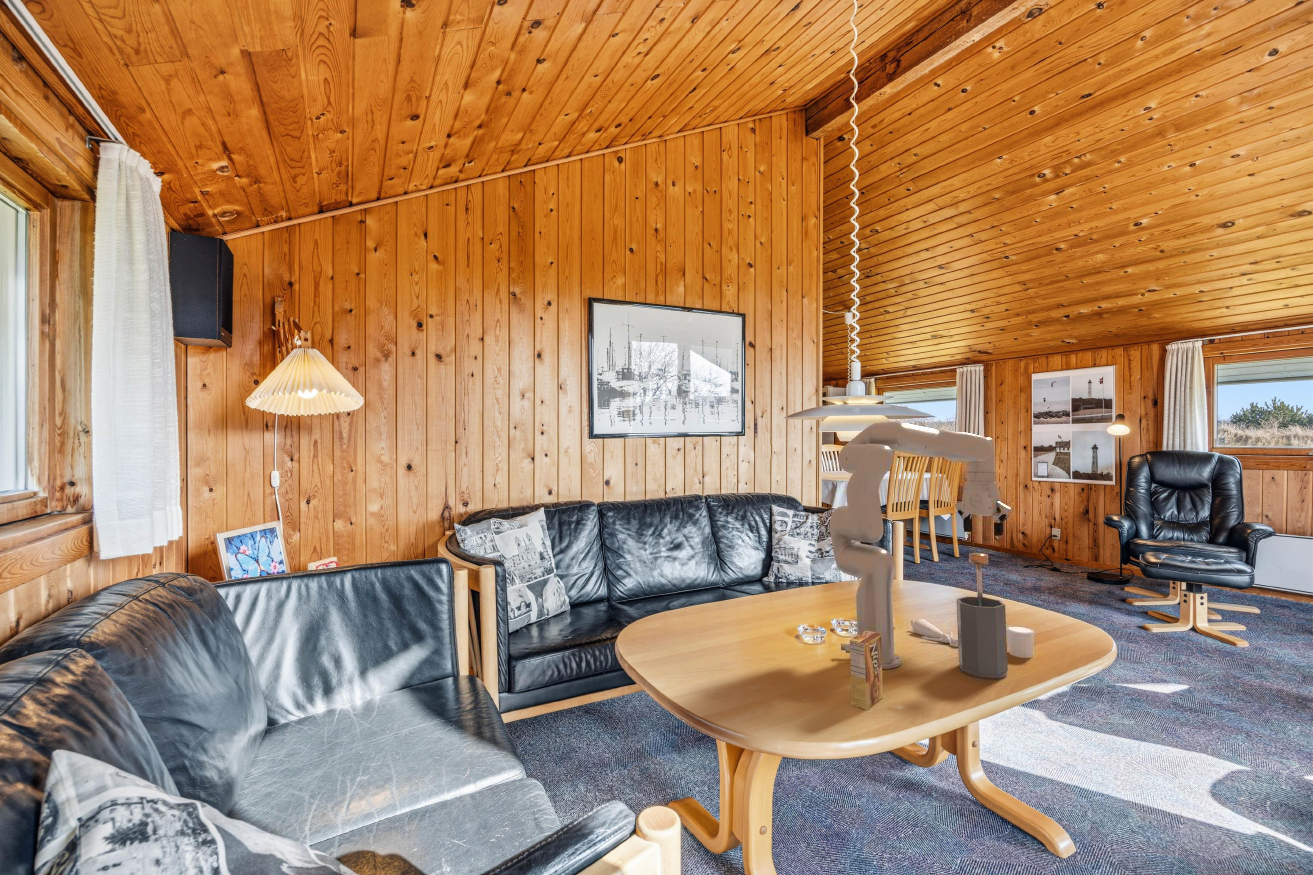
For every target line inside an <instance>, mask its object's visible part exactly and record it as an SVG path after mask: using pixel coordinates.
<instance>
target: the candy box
mask: <svg viewBox="0 0 1313 875" xmlns="http://www.w3.org/2000/svg"><path fill="white" fill-rule="evenodd" d="M849 644H850V653H849V658H850V659H849V660H850V661H849V662H850V664H849V666H850V667H849V668H850V669H849V670H850V703H851V704H850V705H851V706H852V705H853V706H852V707H855V706H856V708H859V707H860V708H859V709H863V710H866V711H867V710H869V709H870V708H872V707H873V706H874V705H876V703H878V702H879V701H880V700H882V699H883V698H884V696H883V695H884V694H883V669H882V648H881V634H880V633H876V632H871V631H864V632H862V633H861V634H859V635H857V634H856V635H855V636H854V637H852V638H850V639H849Z"/></svg>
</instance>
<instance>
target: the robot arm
mask: <svg viewBox="0 0 1313 875" xmlns="http://www.w3.org/2000/svg"><path fill="white" fill-rule="evenodd" d="M894 452H899V453H902V454H903V453H905V454H910V455H916V456H921V457H926V458H937V459H938V458H939V459H940V458H944V459H945V460H946V461H950V462H953V463H966V473H964V475H963V477H964V478H966V480H967V481H964V483H963V484H964V485H963V490H962V498H961V499H962V500H961V501H959V502H957V503H955V504H954V505H955V506H954V507H955V509H956V511H957V514H958V515H959V516H960V517H961V518H960V519H962V521H963V522H962V523H963V526H962V527H963V532H964V533H971V532H973V519H972V518H971V517H972V516H973V515H974V516H975V515H976V516H984V517H987V516H988V517H989V516H990V517H992V519H993V520H994V521H995V522H993V535H994V536H995V537H1001V536H1003V535H1004V534H1003V533H1004V522H1006V520H1007V519H1008V518H1009V517H1010V514H1011V512H1012V510H1013V509H1012V507H1010V506H1008V505H1006V504H1004V503H1002V497H1001V493H1000V492H1001V491H1000V488H999V484H998V482H997V481H996V463H995V461H996V456H995V441H994V439H993V438H991V437H987V436H986V437H985V436H982V435H977V434H974V433H969V432H960V431H953V430H947V429H946V430H945V429H939V428H932V427H929V426H928V427H927V426H921V425H918V424H914V423H909V422H908V423H907V422H903V421H881V422H874V423H872V424H870V425H869V426H867V427H866V428H864V429H863V430H862V431H860V432H859V433H858V434H857V435H856V436H854V438H852V439H851V440H849V441H848V442H847V443H846V444H845V445H844V446H843V447H842V448H841V450H840V451H839V455H838V463H839V466H840V467H841V469H842V470H843V471H844V472H846V473H849V474H851V476H850V477H849V480H848V481H847V484H846V489H845V491H846V492H845V494H846V505H841V506H838V507H837V508H836V509H834V510H833V512H832V513H831V515H830V520H829V532H830V539H831V544H832V551H833V556H834V558H833V559H834V561H835V564H836V567H837V568H838V570H839V571H841V573H844V574H845V575H848V576H852V577H854V578H859V579H860V583H859V585H858V587H857V589H856V594H855V605H856V606H855V608H856V609H855V610H856V636H857V635H859V634H861V633H862V632H864V631H871V632H876V633H880V634H881V648H882V670H888V669H894V668H897V667H899V666H900V665H901V664H902V659H901V657H900V655H898V654H896V653H895V638H894V637H895V636H894V635H895V634H894V630H895V629H894V611H893V610H894V607H893V606H894V605H893V602H894V600H893V585H894V579H895V574H896V573H895V572H896V561H895V558H894V556H893V555H892V554H891V553H890V552H889V551H888V550H886V549H884V548H882V547H879V546H875V545H870V544H871V543H876V542H879V541H880V540H882V538H883V535H884V521H883V515H882V509H881V508H882V507H881V503H880V502H881V501H880V494H879V493H880V492H879V490H880V485H881V483H882V481H883V479H884V477H885V476H886V474H888V472H889V471H890V470H891V468H892V466H893V464H894V461H895V460H894V459H895V458H894V457H895V456H894ZM1002 510H1003V512H1002ZM865 543H870V544H865ZM840 651H845V653H846V654H850V643H842V642H841V643H840Z"/></svg>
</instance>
